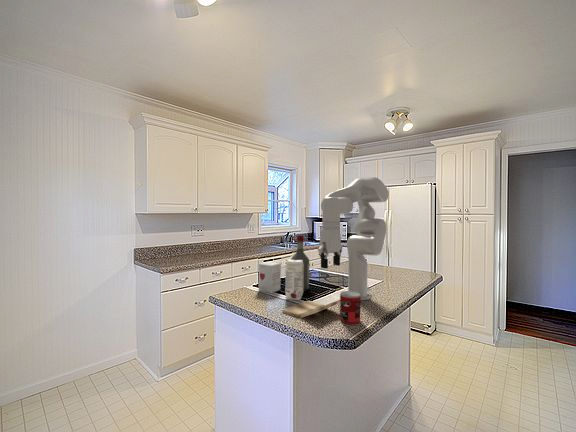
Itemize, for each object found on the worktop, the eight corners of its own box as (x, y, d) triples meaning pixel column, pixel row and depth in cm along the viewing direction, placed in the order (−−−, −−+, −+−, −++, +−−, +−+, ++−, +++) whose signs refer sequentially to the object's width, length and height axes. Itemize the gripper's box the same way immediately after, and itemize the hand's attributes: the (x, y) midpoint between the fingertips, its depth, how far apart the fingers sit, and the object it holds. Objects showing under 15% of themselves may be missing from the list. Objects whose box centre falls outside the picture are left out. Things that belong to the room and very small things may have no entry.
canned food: (337, 317, 120) (338, 291, 119) (356, 317, 120) (357, 290, 120) (342, 324, 112) (343, 296, 112) (363, 324, 113) (363, 296, 112)
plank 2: (325, 307, 131) (324, 305, 131) (341, 302, 125) (340, 299, 126) (314, 312, 125) (313, 309, 125) (330, 306, 119) (329, 303, 120)
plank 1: (313, 312, 124) (312, 310, 125) (329, 307, 119) (328, 304, 119) (300, 318, 118) (299, 314, 119) (317, 312, 113) (316, 309, 113)
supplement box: (258, 291, 158) (258, 263, 158) (267, 287, 165) (267, 261, 165) (271, 293, 153) (271, 265, 153) (280, 289, 161) (281, 262, 160)
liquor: (304, 285, 170) (304, 234, 169) (310, 289, 161) (310, 236, 161) (289, 286, 167) (290, 234, 166) (294, 291, 158) (295, 236, 158)
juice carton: (301, 300, 141) (302, 262, 141) (284, 299, 143) (284, 261, 142) (303, 296, 148) (304, 259, 148) (287, 295, 150) (287, 258, 150)
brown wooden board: (308, 302, 138) (308, 300, 138) (324, 307, 132) (324, 304, 132) (282, 312, 125) (282, 309, 125) (299, 318, 119) (299, 315, 119)
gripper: (335, 225, 133) (334, 262, 133) (311, 226, 120) (311, 268, 120) (349, 225, 128) (348, 265, 128) (326, 227, 115) (325, 270, 115)
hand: (330, 266), depth 124 cm, fingers open, 8 cm apart
